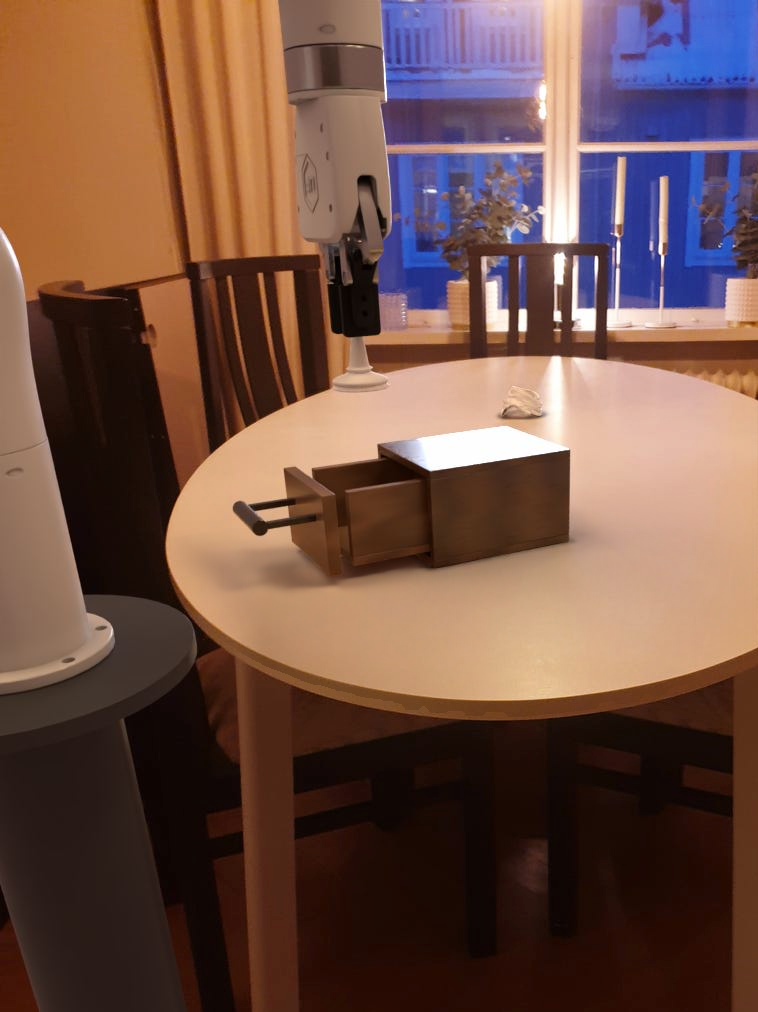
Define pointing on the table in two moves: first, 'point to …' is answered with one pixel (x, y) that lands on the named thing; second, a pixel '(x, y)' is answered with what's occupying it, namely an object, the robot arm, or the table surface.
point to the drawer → (350, 512)
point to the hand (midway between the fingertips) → (355, 332)
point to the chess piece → (359, 372)
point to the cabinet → (488, 491)
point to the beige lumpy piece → (522, 401)
